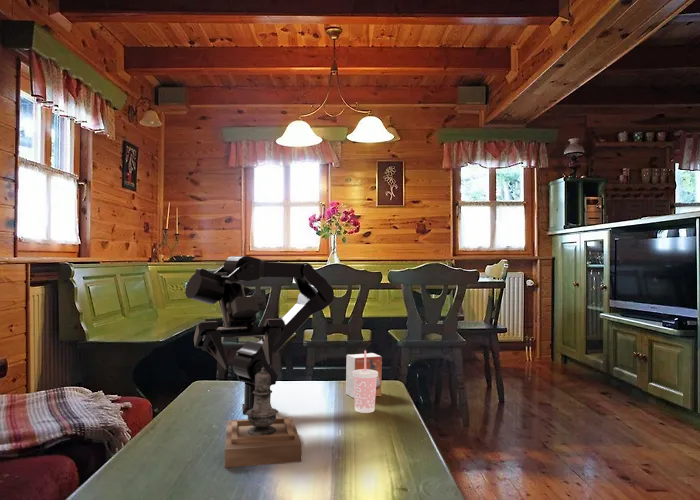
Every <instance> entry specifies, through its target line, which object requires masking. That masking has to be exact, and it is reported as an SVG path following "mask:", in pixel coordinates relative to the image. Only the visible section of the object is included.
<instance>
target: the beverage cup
mask: <svg viewBox="0 0 700 500" xmlns="http://www.w3.org/2000/svg"><path fill="white" fill-rule="evenodd" d="M363 354H364V369H359V370H354V371H352V373H353V374H352V375H353V377H354V398H355V399H354V398H353V399H354V411H356V412H358V413H362V414H369V413H373V412H374V411H375V410H376V409H375V408H376V407H375V406H376V397H375V395H376V381H377V376H378V372H377V371H375V370H370V369H366V354H367V350H364V353H363Z"/></svg>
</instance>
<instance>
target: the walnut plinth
mask: <svg viewBox="0 0 700 500" xmlns="http://www.w3.org/2000/svg"><path fill="white" fill-rule="evenodd" d="M270 426H272V427H274V428H275V429H276V432H275V433H274V434H271V435H262V436H253V435H250V434H248V430H249V429H250V428H251V427H253V425H252V424H251V423H250V422H249V420H248V418H244V419H230V420H226V427H225V429H226V430H225V447H224V468H225V469H226V468H235V467H236V468H237V467H238V466H239V467H251V466H261V465H262V466H265V465H277V464H288V463H289V464H290V463H302V461H303V460H302V456H303V455H302V454H303V453H302V452H303V451H302V450H303V444H302V441H301V438H300V435H299V432H298V430H297V427H296V423H295V421H294V419H293V416H280V417H277V416H276V419H275V421H274V423H273V424H272V425H270Z"/></svg>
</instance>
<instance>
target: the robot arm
mask: <svg viewBox="0 0 700 500" xmlns="http://www.w3.org/2000/svg"><path fill="white" fill-rule="evenodd" d="M268 277H269V278H293V279H294V281H295V285H296V288H297V290H298V291H299V294H298V296H297V301H296V303H295V304H294V305H293V306H292V307H291V309H289V310H288V312H287V313H285V315H284V316H282V317H281V318H266V319H265V321H264V323H263V325H261V326H259V325H258V326H254V323H256V321H257V317H256V315H257V313H258V314H259V312H264V311H265V310H266V309H267V299H266V297H265V294H256V295H255V296H249V294H251V293H252V290H251V288H249V287H248V286H245V285H244V284H242V283H241V284H240V283H238V282H250V281H257V280H261V279H263V278H268ZM228 282H230V283H228ZM185 297H186V298H188V299H189V300H193V301H196V302H200V303H204V304H208V305H210V306H211V305H212V306H213V305H215V304H217V302H219V303H220V308H221V312H222V318H221V320H222V321H221V322H222V323H224V326H219V322H218V321H217V320H214V321H213V320H212V321H211V320H210V321H199V322H198V323H197V324H196V328H195V330H194V331H195V332H194V336H193V343H194V348H196V349H201V350H202V351H204V352H205V351H206V352H207V353H209V354H210V355H211V356H213V358H214V359H215V360H216V361H217V362H218V363H219V364H220V365H221V367H222V368H223V369H224V370H227V369H228V366H229V365H228V359H227V356H226V352H225V349H224V345H223V341H222V338H234V339H235V338H251V337H255V338H256V337H260V340H259V341H253V340H252V341H251V340H247V341H246V342H245V343H244V344H243V345H242V347H241V348H240V349H237V350H236V351H235V353H236V354H235V355H234V357H233V359H232V370H233V373H234V374H236V378H237V380H238V381H239V382H242V383H244V388H243V389H244V391H243V394H244V397H243V398H244V399H243V400H244V401H243V403H242V404H241V405H242V406H241V407H242V409H241V410H242V414H246V412H247V411H248V410H250V409H252V408H253V406H254V393H253V391H254V390H255V375H256V374H257V373H259V372H260V371H262V370H261V369H262V367H263V368H264V371H265V372H267V373H269V374H270V387H271V386H275V385H276V383H277V379H278V377H279V376H278V374H277V373H276V372H275V371H274V370H273V368H272V366H273V363H274V362H275V358H276V357H275V356H276V354H277V352H278V351H280V349H281V348H282V347H284V345H285V344H286V343H287V342H288V341H289V340H290V338H292V336H293V335H294V334H295V333H296V332H297V331H298V330H299V329H300V328H301V326H303V325H304V324H305V322H306V321H307V320H309V318H310V317H311V316H313V315H315V314H316V313H319V312H321V311H324V310H325V309H326V308H327V307H329V306H331V304H333V302H334V300H335V292H334V289H333V287H332V286H331V284H329V282H328V281H327V280H326V279H325V278H324V277H323V276H322V275H321V274H319V273H318V271H316V270H315V268H314V267H313V265H312V264H310V263H308V262H279V261H278V262H274V261H265V260H263V259H261V258H257V257H253V256H251V255H232V256H228V257H227V258H226V259H225V261H224V262H223V264H222V266H220V268H218V269H217V270H216V271H214V272H211V271H209V270H206V269H204V268H196V270H195V273H194V274H192V275H191V276H190V278H189V280H188V281H187V283H186V286H185Z"/></svg>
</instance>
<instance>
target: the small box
mask: <svg viewBox="0 0 700 500" xmlns="http://www.w3.org/2000/svg"><path fill="white" fill-rule="evenodd" d="M345 361H346V363H345V364H346V370H345V371H346V373H345V395H348V396H349V397H351V398H352V399H354V400H355V398H354V377H353V375H352V374H353V373H352V371H354V370H359V369H364V353H355V354H346V360H345ZM382 365H383V356H381V355H379V354H377V353H374V352H368V353H367V352H366V369H370V370H375V371H377V372H378V376H377V381H376V395H375V398H377V397H376V396H380V397H382V378H383V377H382V367H383V366H382Z"/></svg>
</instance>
